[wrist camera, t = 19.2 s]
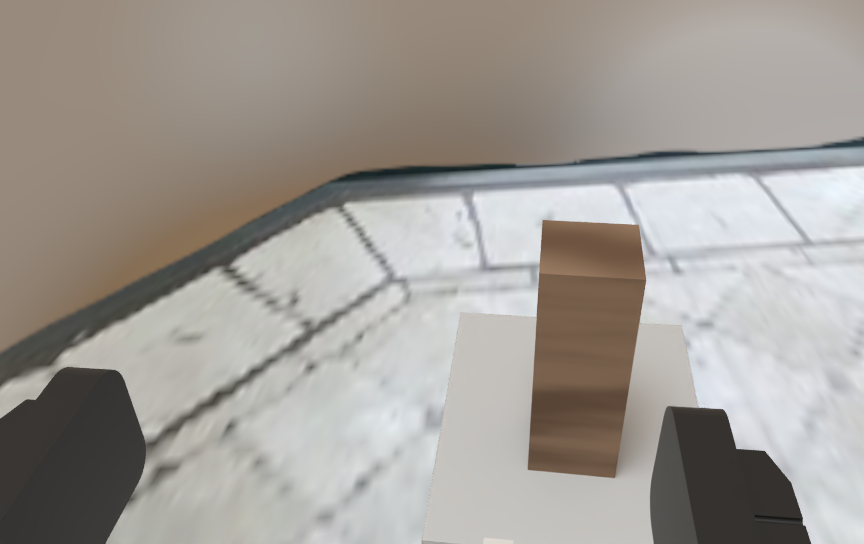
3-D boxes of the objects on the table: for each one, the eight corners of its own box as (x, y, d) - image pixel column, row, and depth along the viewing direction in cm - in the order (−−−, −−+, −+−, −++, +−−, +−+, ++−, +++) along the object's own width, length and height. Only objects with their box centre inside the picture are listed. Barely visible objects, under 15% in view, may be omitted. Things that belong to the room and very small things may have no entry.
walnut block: (614, 478, 44) (645, 279, 36) (527, 469, 45) (539, 273, 37) (611, 415, 48) (638, 225, 40) (531, 409, 49) (542, 220, 41)
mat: (730, 575, 39) (732, 570, 39) (421, 544, 42) (421, 540, 41) (680, 330, 56) (681, 325, 56) (460, 316, 58) (460, 312, 58)
